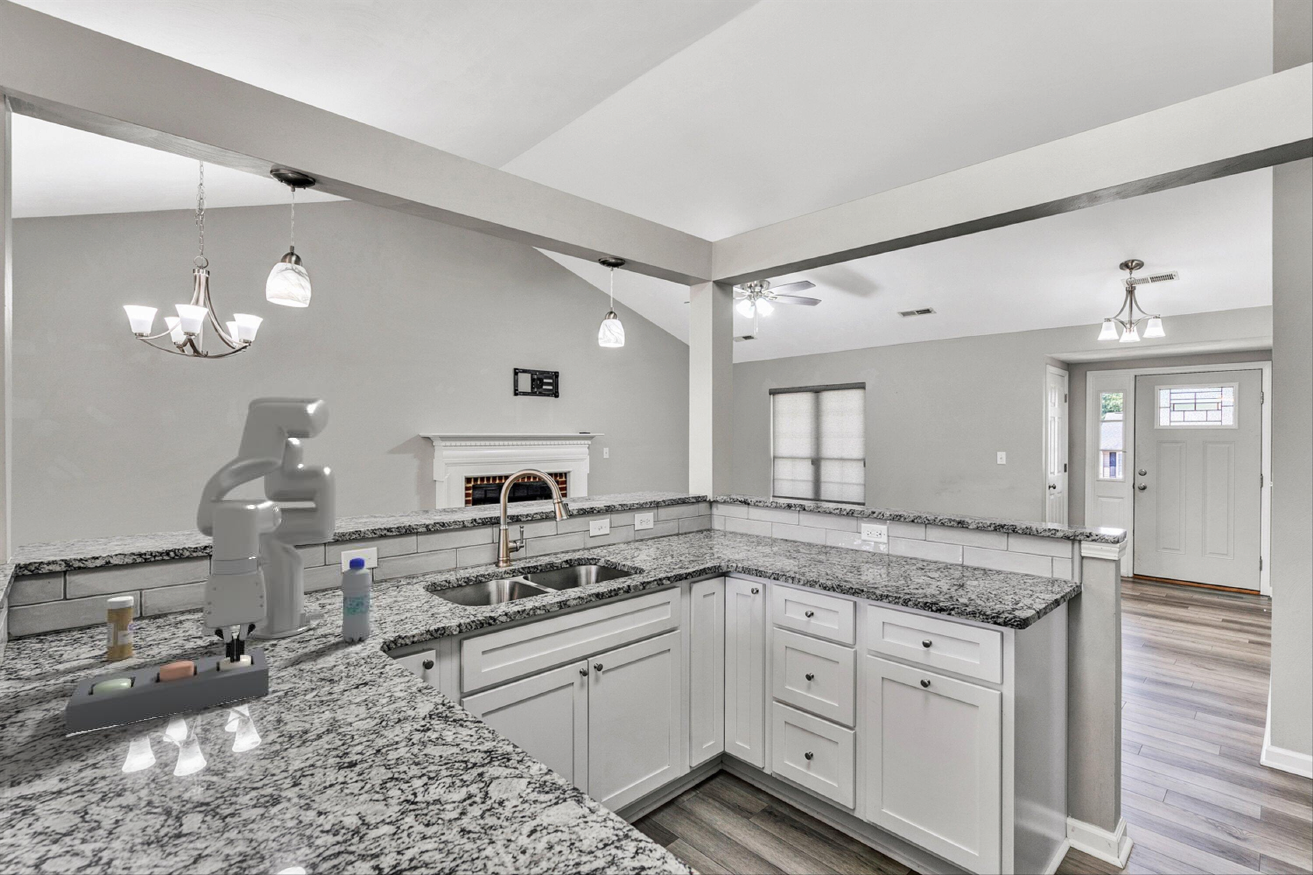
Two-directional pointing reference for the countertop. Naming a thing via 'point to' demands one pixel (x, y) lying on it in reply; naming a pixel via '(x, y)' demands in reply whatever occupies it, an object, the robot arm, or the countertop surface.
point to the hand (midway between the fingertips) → (235, 659)
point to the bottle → (356, 601)
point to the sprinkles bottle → (120, 628)
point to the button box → (164, 693)
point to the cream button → (235, 662)
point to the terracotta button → (176, 670)
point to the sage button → (112, 685)
